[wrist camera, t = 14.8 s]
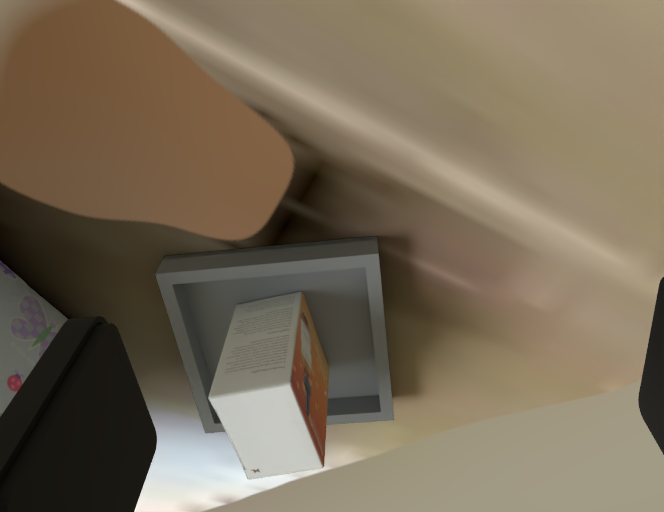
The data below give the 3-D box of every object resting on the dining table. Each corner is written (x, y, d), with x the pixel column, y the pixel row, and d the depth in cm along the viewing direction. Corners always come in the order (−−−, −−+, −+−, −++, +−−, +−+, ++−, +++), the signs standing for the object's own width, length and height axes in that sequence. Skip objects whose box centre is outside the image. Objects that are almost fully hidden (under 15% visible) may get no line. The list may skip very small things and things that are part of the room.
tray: (377, 235, 44) (378, 253, 41) (392, 397, 52) (394, 420, 49) (164, 255, 45) (155, 274, 43) (211, 410, 53) (205, 432, 51)
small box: (330, 366, 49) (326, 471, 40) (265, 378, 50) (247, 483, 41) (303, 287, 45) (292, 383, 36) (234, 302, 46) (206, 399, 37)
